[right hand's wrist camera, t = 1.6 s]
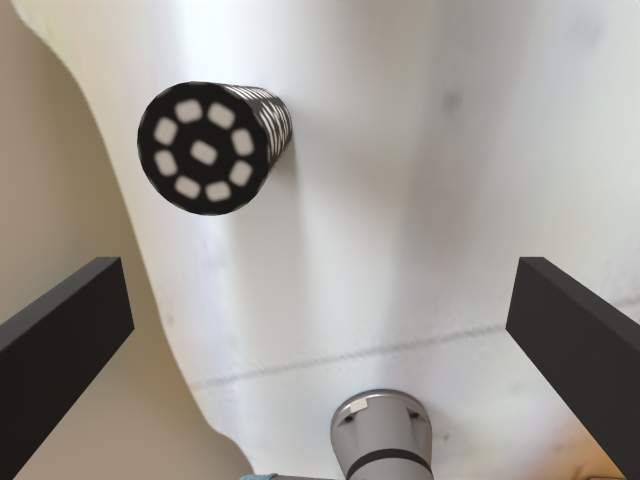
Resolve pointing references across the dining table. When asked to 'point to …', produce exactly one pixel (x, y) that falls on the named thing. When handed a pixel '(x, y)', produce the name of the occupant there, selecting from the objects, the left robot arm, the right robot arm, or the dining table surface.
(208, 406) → the dining table surface
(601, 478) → the stone
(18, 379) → the right robot arm
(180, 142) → the black white spotted cylinder
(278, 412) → the dining table surface
